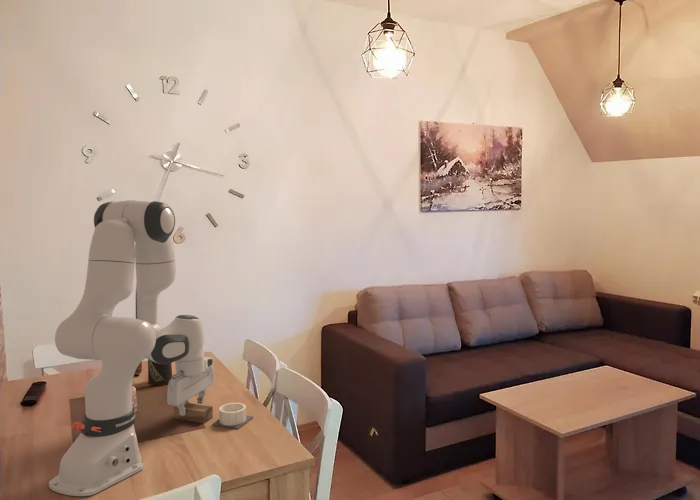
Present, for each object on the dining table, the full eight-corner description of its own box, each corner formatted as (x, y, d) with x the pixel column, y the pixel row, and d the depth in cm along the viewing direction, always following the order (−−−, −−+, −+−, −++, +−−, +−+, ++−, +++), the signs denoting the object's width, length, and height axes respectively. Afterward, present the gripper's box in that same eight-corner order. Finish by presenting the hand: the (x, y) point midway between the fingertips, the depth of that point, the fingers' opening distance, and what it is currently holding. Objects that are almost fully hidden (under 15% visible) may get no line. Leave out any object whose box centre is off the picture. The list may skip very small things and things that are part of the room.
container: (146, 380, 208) (144, 328, 206) (171, 377, 211) (169, 326, 209) (149, 387, 200) (146, 333, 198) (174, 384, 204) (172, 331, 202)
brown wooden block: (204, 424, 168) (204, 411, 168) (174, 419, 172) (173, 407, 172) (212, 418, 173) (212, 406, 172) (183, 414, 176) (182, 402, 176)
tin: (123, 368, 222) (122, 348, 221) (131, 367, 224) (130, 346, 223) (135, 378, 211) (134, 356, 210) (143, 376, 213) (142, 355, 212)
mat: (238, 429, 164) (238, 428, 164) (212, 425, 167) (212, 423, 167) (253, 417, 172) (253, 416, 172) (228, 414, 176) (228, 412, 175)
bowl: (237, 427, 165) (237, 414, 164) (214, 423, 167) (214, 410, 167) (251, 416, 172) (250, 404, 172) (229, 413, 175) (228, 401, 174)
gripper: (178, 378, 161) (181, 423, 162) (216, 357, 180) (218, 397, 181) (160, 376, 162) (163, 420, 164) (200, 355, 182) (201, 395, 183)
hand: (192, 408), depth 173 cm, fingers open, 8 cm apart
